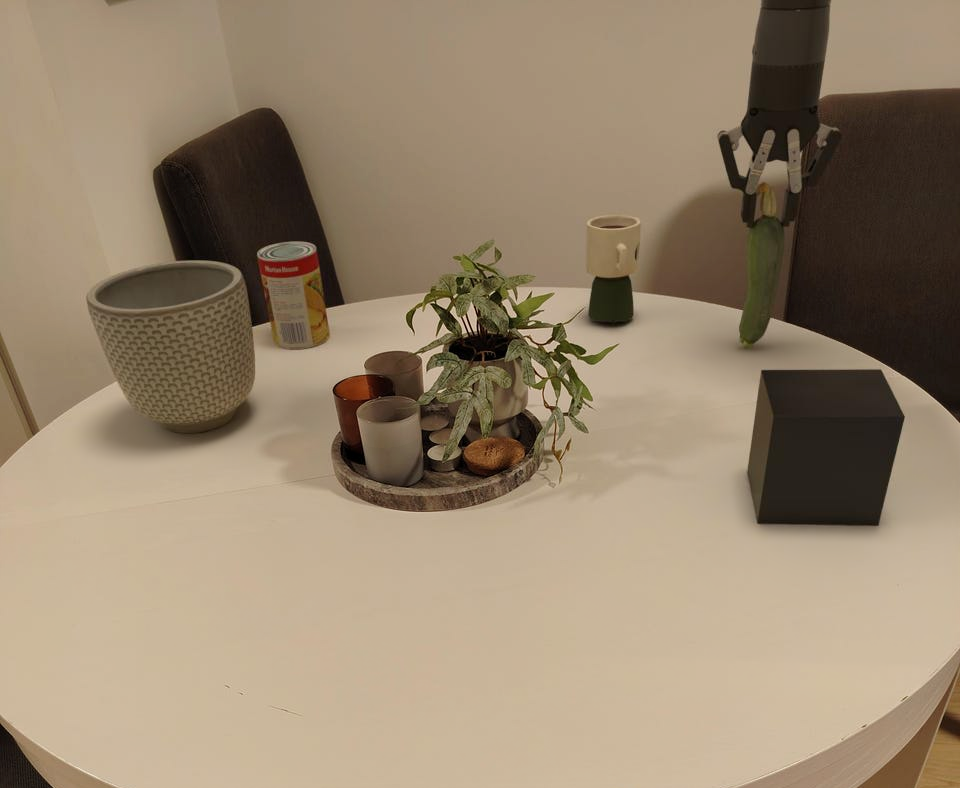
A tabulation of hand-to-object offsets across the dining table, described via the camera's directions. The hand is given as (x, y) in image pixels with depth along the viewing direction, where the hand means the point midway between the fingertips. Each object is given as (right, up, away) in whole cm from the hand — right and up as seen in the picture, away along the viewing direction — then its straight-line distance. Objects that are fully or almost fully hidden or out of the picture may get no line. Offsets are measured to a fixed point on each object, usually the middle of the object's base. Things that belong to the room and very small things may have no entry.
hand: (767, 224), depth 112 cm
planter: (-68, -22, +3) cm, 72 cm away
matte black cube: (-2, -35, -19) cm, 40 cm away
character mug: (-16, -5, +20) cm, 26 cm away
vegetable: (+1, -12, +10) cm, 15 cm away
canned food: (-59, -7, +21) cm, 63 cm away
